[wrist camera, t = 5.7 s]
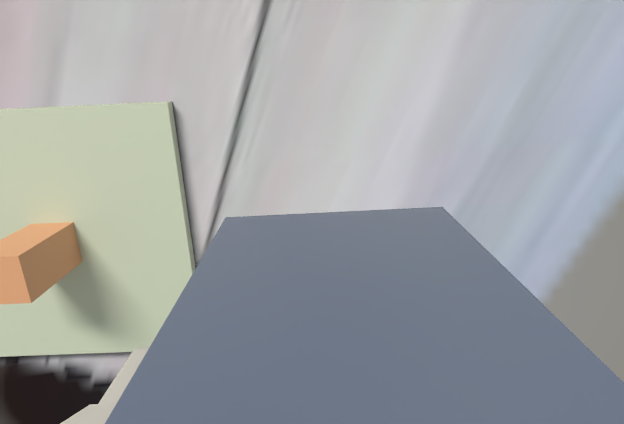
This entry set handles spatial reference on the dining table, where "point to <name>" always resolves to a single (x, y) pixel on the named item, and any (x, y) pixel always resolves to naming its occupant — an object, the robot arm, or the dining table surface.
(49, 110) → the post board
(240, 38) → the dining table surface
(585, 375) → the blue-grey block
